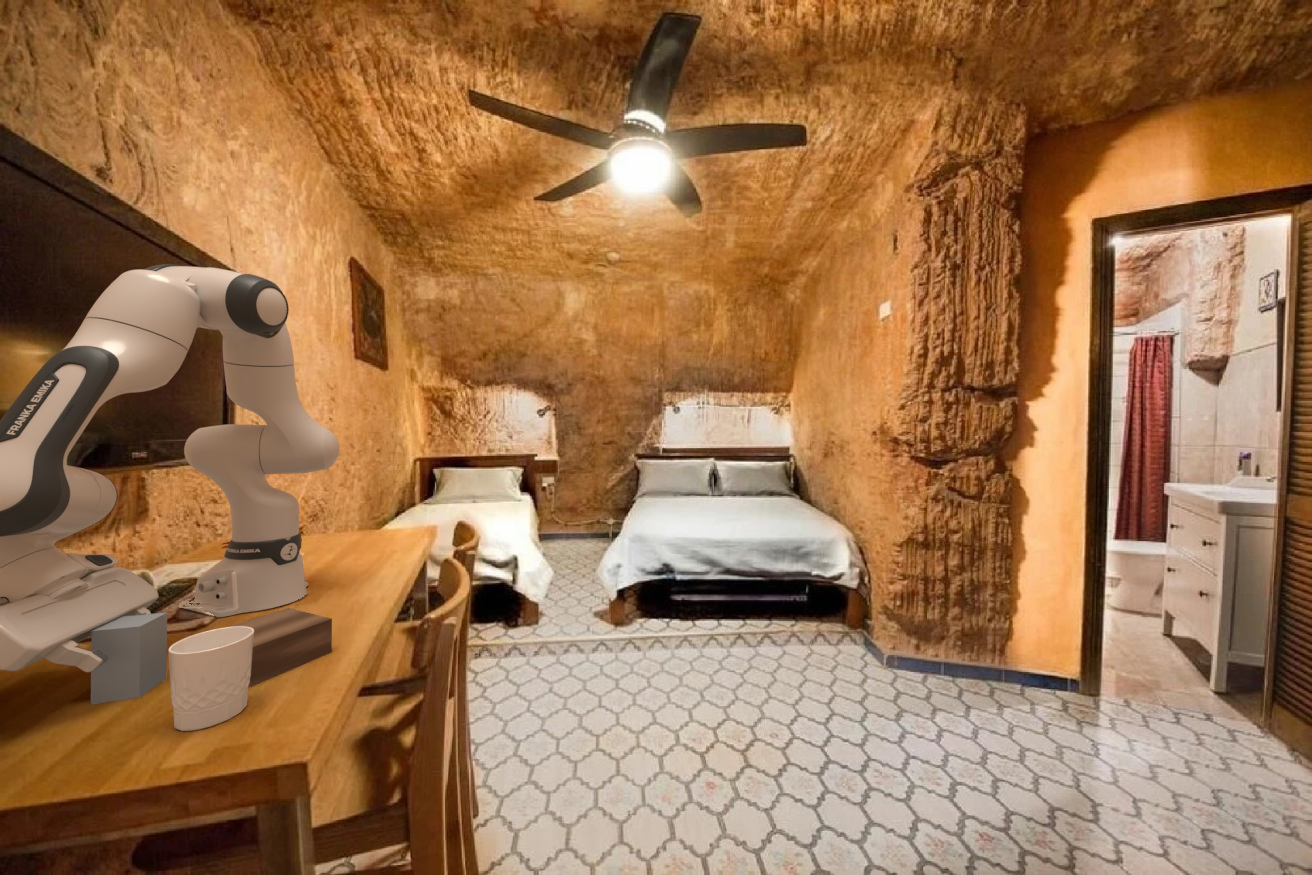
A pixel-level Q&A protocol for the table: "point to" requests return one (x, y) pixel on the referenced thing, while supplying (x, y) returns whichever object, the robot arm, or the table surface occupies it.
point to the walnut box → (287, 642)
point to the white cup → (210, 676)
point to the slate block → (129, 657)
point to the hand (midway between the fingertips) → (129, 649)
